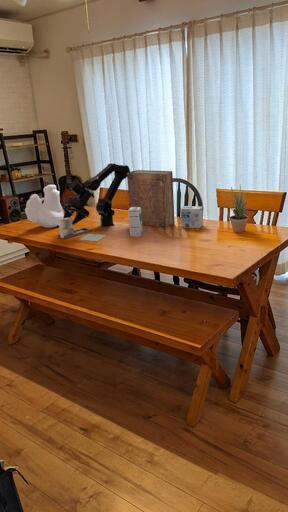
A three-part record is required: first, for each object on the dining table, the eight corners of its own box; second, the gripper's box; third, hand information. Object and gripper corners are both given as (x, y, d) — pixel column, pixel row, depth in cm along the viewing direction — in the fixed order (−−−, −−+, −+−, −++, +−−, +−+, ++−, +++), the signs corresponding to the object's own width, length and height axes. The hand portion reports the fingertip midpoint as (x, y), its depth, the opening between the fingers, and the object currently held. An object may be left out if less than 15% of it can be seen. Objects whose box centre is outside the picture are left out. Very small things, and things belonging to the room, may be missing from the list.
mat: (88, 234, 223) (88, 234, 223) (106, 235, 219) (106, 235, 219) (78, 240, 213) (78, 239, 213) (97, 241, 209) (96, 240, 209)
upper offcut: (81, 231, 229) (81, 230, 229) (84, 232, 227) (84, 231, 227) (75, 233, 226) (74, 232, 226) (78, 234, 224) (78, 232, 224)
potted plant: (227, 232, 210) (227, 184, 202) (232, 227, 217) (232, 181, 210) (246, 234, 205) (247, 184, 197) (251, 229, 213) (252, 181, 205)
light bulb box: (180, 227, 225) (180, 208, 222) (184, 224, 231) (183, 205, 228) (199, 228, 221) (199, 208, 218) (202, 225, 227) (202, 206, 224)
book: (175, 224, 233) (172, 171, 223) (165, 228, 226) (162, 173, 216) (140, 220, 248) (137, 170, 238) (130, 223, 241) (126, 172, 232)
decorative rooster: (58, 221, 259) (52, 182, 251) (70, 225, 247) (65, 184, 239) (20, 229, 244) (13, 188, 236) (32, 234, 232) (25, 190, 225)
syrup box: (140, 236, 213) (139, 209, 209) (129, 236, 215) (127, 209, 210) (143, 233, 219) (141, 206, 214) (132, 233, 220) (130, 207, 215)
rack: (85, 230, 233) (84, 227, 233) (92, 231, 228) (91, 229, 228) (57, 237, 222) (57, 234, 221) (64, 239, 217) (64, 236, 216)
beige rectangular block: (71, 234, 225) (69, 217, 222) (74, 235, 223) (72, 217, 220) (60, 237, 221) (58, 219, 218) (63, 238, 219) (61, 220, 216)
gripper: (63, 189, 225) (48, 212, 222) (82, 192, 212) (67, 217, 208) (76, 201, 233) (62, 224, 229) (96, 204, 219) (81, 228, 216)
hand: (67, 223), depth 220 cm, fingers open, 9 cm apart
